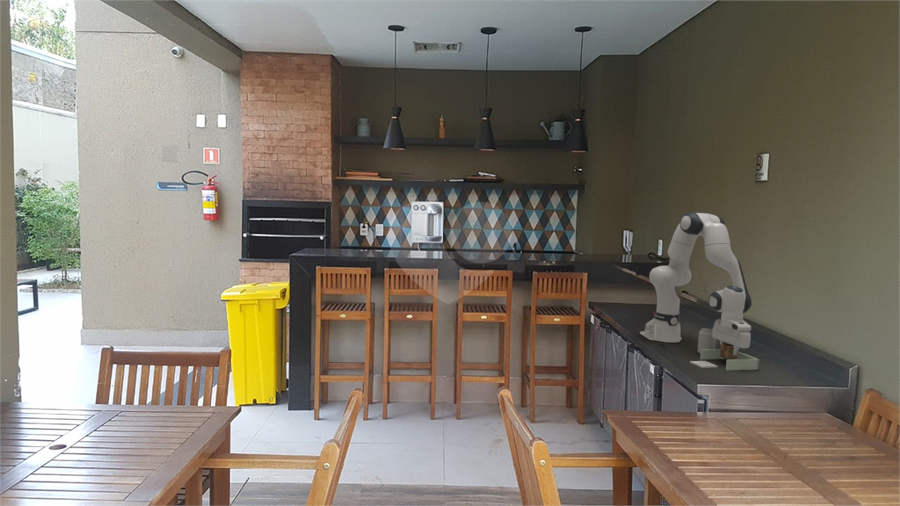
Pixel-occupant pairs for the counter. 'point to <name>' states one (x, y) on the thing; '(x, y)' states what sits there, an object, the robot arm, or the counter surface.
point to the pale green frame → (732, 360)
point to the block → (727, 351)
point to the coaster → (703, 364)
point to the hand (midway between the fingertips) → (728, 353)
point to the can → (705, 340)
